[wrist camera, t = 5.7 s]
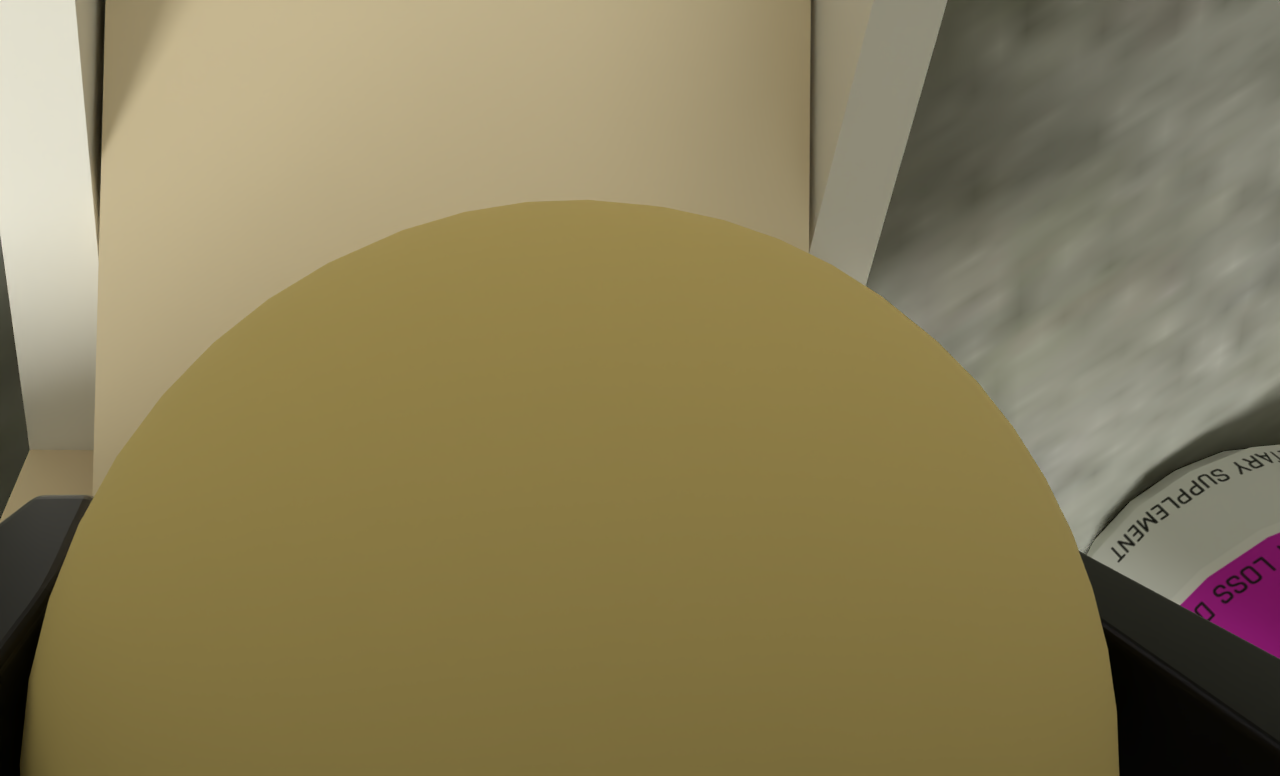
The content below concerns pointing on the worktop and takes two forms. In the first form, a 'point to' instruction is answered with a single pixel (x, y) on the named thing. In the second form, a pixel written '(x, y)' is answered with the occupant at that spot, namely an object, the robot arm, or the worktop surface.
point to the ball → (573, 531)
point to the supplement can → (1208, 542)
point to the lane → (393, 155)
